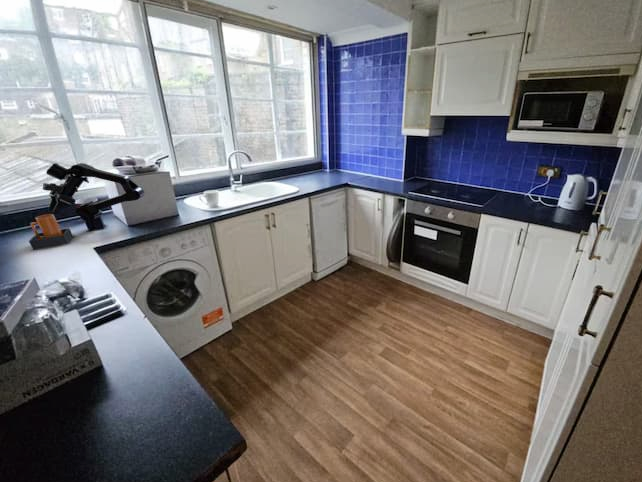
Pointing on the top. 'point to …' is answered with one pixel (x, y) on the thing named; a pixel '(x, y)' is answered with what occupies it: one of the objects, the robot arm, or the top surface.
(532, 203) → the top surface
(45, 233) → the tall orange mug
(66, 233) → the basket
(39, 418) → the top surface
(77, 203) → the plastic cup
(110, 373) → the top surface
